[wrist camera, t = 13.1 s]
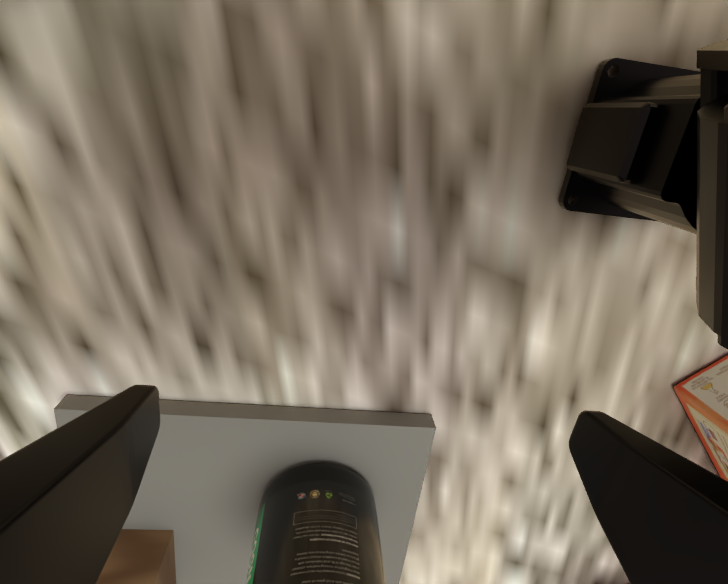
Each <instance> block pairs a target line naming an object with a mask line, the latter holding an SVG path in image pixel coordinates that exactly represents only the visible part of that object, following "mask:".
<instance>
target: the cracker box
mask: <svg viewBox="0 0 728 584" xmlns="http://www.w3.org/2000/svg"><path fill="white" fill-rule="evenodd" d="M674 390H675V392H676V394H677V396H678V398H679V399H680V401H681V403H682V405H683V407H684V409H685V411H686V413H687V415H688V417H689V419H690V421H691V422H692V424H693V426H694V428H695V430H696V432H697V434H698V435H699V437H700V439H701V441H702V443H703V445H704V447H705V449H706V450H707V452H708V454H709V456H710V458H711V460H712V462H713V464H714V466H715V468H716V470H717V471H718V473H719V475H720V477H721V478H722V479H724V480H726V481H728V355H727V356H725V357H724V358H722V359H720V360H719V361H717V362H715V363H713V364H712V365H710V366H708V367H706V368H705V369H703V370H701V371H699V372H698V373H696V374H694V375H692V376H691V377H689V378H687V379H686V380H684V381H682V382H681V383H679V384H677V385H676V386H674Z"/></svg>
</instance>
